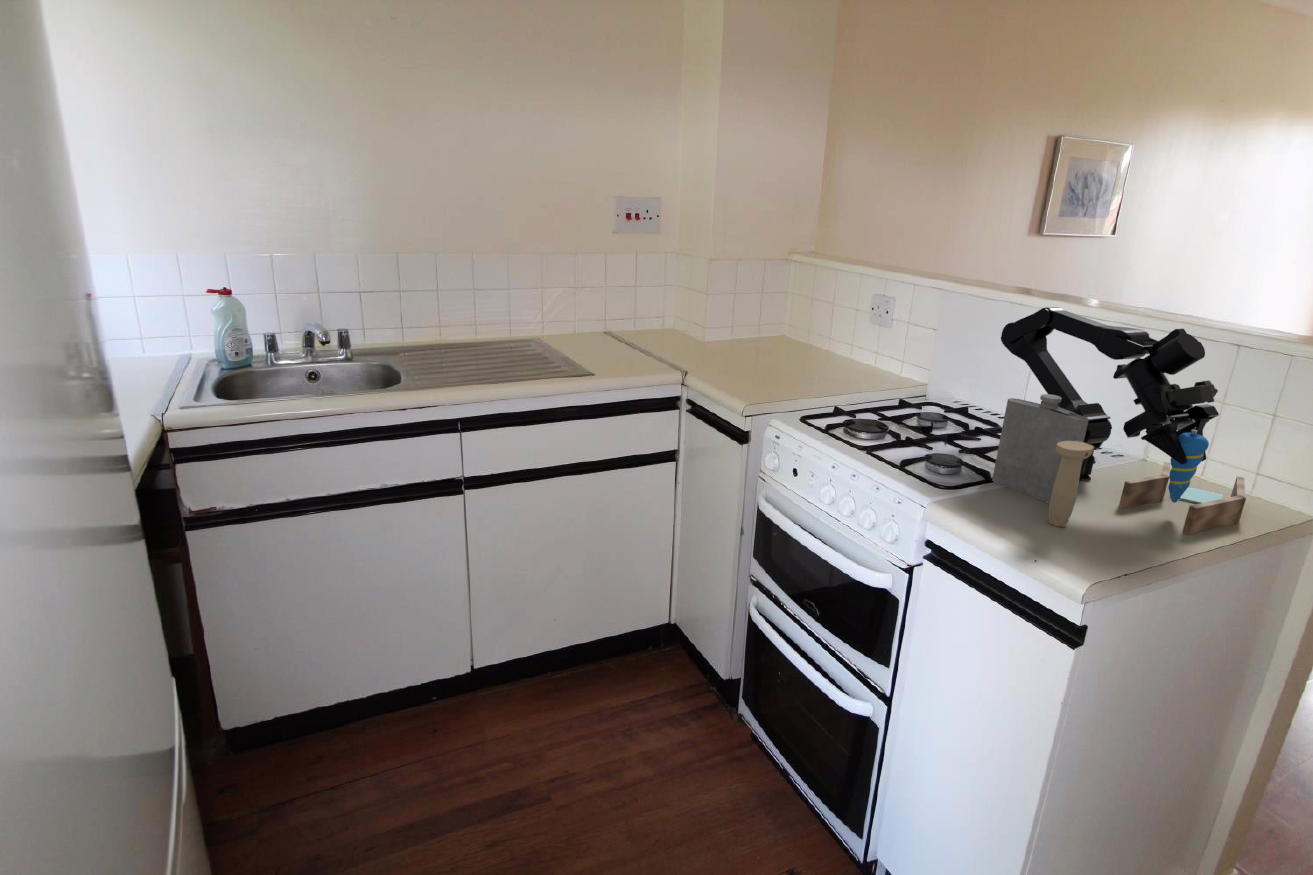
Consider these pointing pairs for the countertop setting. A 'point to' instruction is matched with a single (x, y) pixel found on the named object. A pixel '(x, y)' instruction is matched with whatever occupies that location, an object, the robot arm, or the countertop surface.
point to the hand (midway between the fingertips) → (1194, 462)
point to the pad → (1199, 496)
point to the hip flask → (1034, 444)
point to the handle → (1067, 480)
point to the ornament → (1183, 473)
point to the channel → (1198, 514)
